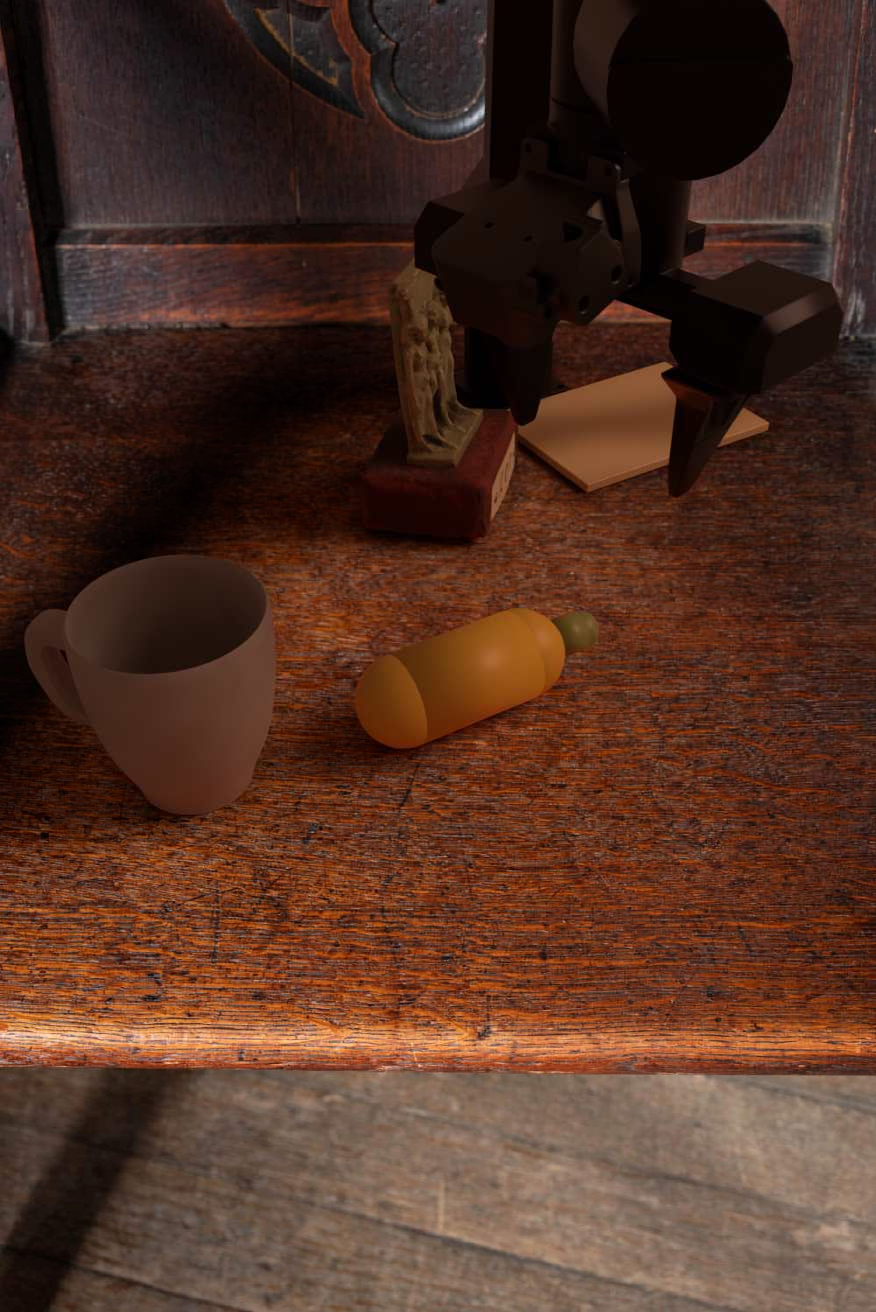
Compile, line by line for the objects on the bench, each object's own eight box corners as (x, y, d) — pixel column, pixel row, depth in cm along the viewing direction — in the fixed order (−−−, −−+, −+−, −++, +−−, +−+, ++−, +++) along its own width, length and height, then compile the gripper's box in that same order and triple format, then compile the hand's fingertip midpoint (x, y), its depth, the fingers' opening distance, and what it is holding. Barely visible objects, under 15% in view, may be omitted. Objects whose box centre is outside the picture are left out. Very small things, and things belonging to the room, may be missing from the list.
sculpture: (493, 551, 74) (497, 306, 64) (359, 536, 75) (344, 295, 66) (520, 467, 81) (527, 237, 72) (398, 455, 82) (390, 228, 73)
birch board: (491, 421, 86) (491, 413, 86) (664, 368, 92) (665, 361, 91) (586, 493, 78) (587, 484, 78) (768, 430, 84) (769, 422, 84)
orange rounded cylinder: (566, 636, 67) (571, 565, 64) (619, 683, 64) (626, 610, 61) (340, 725, 62) (334, 652, 59) (386, 781, 59) (382, 707, 56)
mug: (319, 732, 61) (303, 570, 55) (242, 862, 55) (214, 695, 49) (102, 686, 64) (64, 528, 58) (5, 804, 58) (-49, 639, 52)
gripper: (305, 91, 49) (332, 447, 59) (691, 206, 38) (646, 618, 48) (505, 40, 55) (499, 371, 64) (888, 127, 44) (812, 508, 54)
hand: (598, 456), depth 57 cm, fingers open, 9 cm apart
